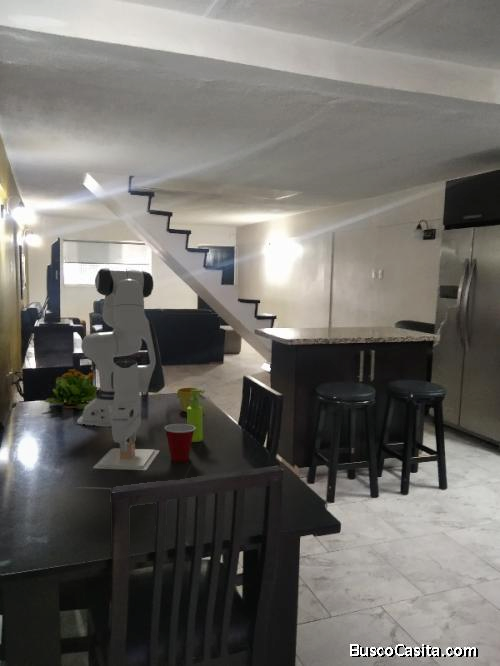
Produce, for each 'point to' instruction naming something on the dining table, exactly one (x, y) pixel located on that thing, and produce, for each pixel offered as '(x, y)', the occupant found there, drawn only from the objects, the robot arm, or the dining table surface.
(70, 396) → the potted flower
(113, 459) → the lid
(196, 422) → the soap dispenser
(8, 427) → the dining table surface
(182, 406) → the plant pot
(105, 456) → the mat
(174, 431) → the plastic cup
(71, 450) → the dining table surface
